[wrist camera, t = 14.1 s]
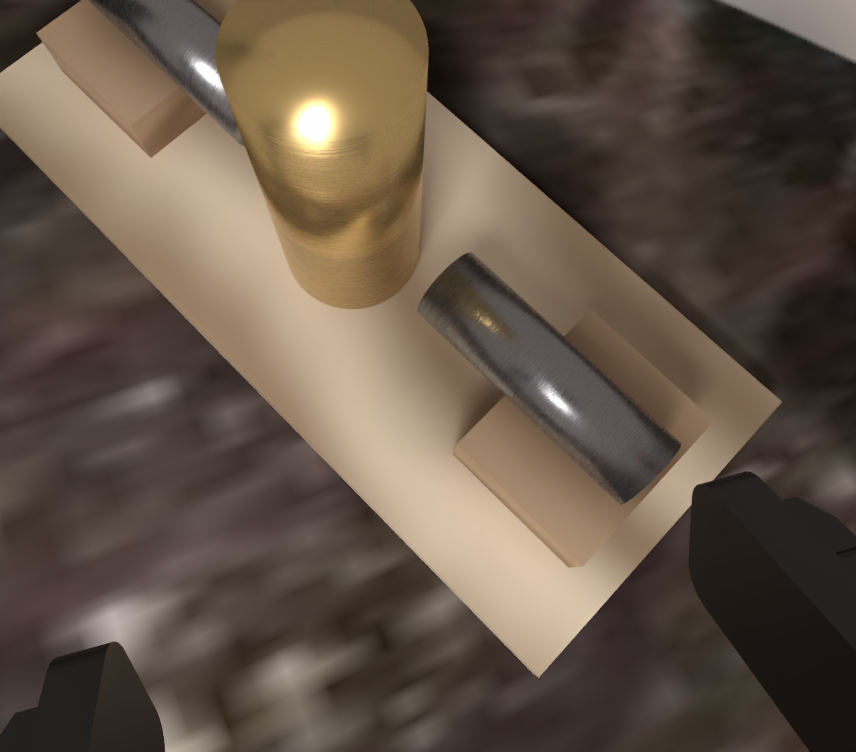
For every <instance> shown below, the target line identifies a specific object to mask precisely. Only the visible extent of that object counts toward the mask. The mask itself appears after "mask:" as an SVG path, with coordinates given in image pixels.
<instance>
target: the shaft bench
mask: <svg viewBox="0 0 856 752" xmlns="http://www.w3.org/2000/svg"><path fill="white" fill-rule="evenodd" d="M196 1H197V2H198V3H200V4H201V5H202V6H203V7H204V8H205V9H206V10H207V11H208V12H209V13H210V14H212V15H213V16H214V17H215V18H216V19H217V20H218V21H219V22H220V23H221V24H222V22H223V20H224V18H225V16H226V14H227V12H228V10H229V9H230V7H231V6H232V5H233V3H234V2H235V1H236V0H196ZM37 35H38V36H39V38H40V39H41V41H42V43H41V44H39V45H38V46H37V47H35V48H34V49H33V50H31V51H30V52H28V53H27V54H26V55H24V56H23V57H22V58H20V59H19V60H17V61H16V62H15V63H13V64H12V65H11V66H9V67H8V68H6V69H5V70H4V71H2V72H1V73H0V128H1V129H2V130H3V131H4V132H5V134H6V135H7V136H8V137H9V138H10V139H11V140H12V141H13V142H14V143H15V144H16V145H17V146H18V147H19V148H20V149H21V150H22V151H23V152H24V153H25V154H26V155H27V156H28V157H29V158H30V159H31V160H32V161H33V162H34V163H35V164H36V165H37V166H38V167H39V168H40V169H41V170H42V171H43V172H44V173H45V174H46V175H47V176H48V178H49V179H50V180H51V181H52V182H53V183H54V184H55V185H56V186H57V187H58V188H59V189H60V190H61V191H62V192H63V193H64V194H65V195H66V196H67V197H68V198H69V199H70V200H71V201H72V202H73V203H74V204H75V205H76V206H77V207H78V208H79V209H80V210H81V211H82V212H83V213H84V214H85V215H86V216H87V217H88V218H89V219H90V220H91V222H92V223H93V224H94V225H95V226H96V227H97V228H98V229H99V230H100V231H101V232H102V233H103V234H104V235H105V236H106V237H107V238H108V239H109V240H110V241H111V242H112V243H113V244H114V245H115V246H116V247H117V248H118V249H119V250H120V251H121V252H122V253H123V254H124V255H125V256H126V257H127V258H128V259H129V260H130V261H131V262H132V263H133V265H134V266H135V267H136V268H137V269H138V270H139V271H140V272H141V273H142V274H143V275H144V276H145V277H146V278H147V279H148V280H149V281H150V282H151V283H152V284H153V285H154V286H155V287H156V288H157V289H158V290H159V291H160V292H161V293H162V294H163V295H164V296H165V297H166V298H167V299H168V300H169V301H170V302H171V303H172V304H173V305H174V306H175V307H176V309H177V310H178V311H179V312H180V313H181V314H182V315H183V316H184V317H185V318H186V319H187V320H188V321H189V322H190V323H191V324H192V325H193V326H194V327H195V328H196V329H197V330H198V331H199V332H200V333H201V334H202V335H203V336H204V337H205V338H206V339H207V340H208V341H209V342H210V343H211V344H212V345H213V346H214V347H215V348H216V349H217V350H218V351H219V353H220V354H221V355H222V356H223V357H224V358H225V359H226V360H227V361H228V362H229V363H230V364H231V365H232V366H233V367H234V368H235V369H236V370H237V371H238V372H239V373H240V374H241V375H242V376H243V377H244V378H245V379H246V380H247V381H248V382H249V383H250V384H251V385H252V386H253V387H254V388H255V389H256V390H257V391H258V392H259V393H260V394H261V396H262V397H263V398H264V399H265V400H266V401H267V402H268V403H269V404H270V405H271V406H272V407H273V408H274V409H275V410H276V411H277V412H278V413H279V414H280V415H281V416H282V417H283V418H284V419H285V420H286V421H287V422H288V423H289V424H290V425H291V426H292V427H293V428H294V429H295V430H296V431H297V432H298V433H299V434H300V435H301V436H302V437H303V438H304V440H305V441H306V442H307V443H308V444H309V445H310V446H311V447H312V448H313V449H314V450H315V451H316V452H317V453H318V454H319V455H320V456H321V457H322V458H323V459H324V460H325V461H326V462H327V463H328V464H329V465H330V466H331V467H332V468H333V469H334V470H335V471H336V472H337V473H338V474H339V475H340V476H341V477H342V478H343V479H344V480H345V481H346V483H347V484H348V485H349V486H350V487H351V488H352V489H353V490H354V491H355V492H356V493H357V494H358V495H359V496H360V497H361V498H362V499H363V500H364V501H365V502H366V503H367V504H368V505H369V506H370V507H371V508H372V509H373V510H374V511H375V512H376V513H377V514H378V515H379V516H380V517H381V518H382V519H383V520H384V521H385V522H386V523H387V524H388V525H389V527H390V528H391V529H392V530H393V531H394V532H395V533H396V534H397V535H398V536H399V537H400V538H401V539H402V540H403V541H404V542H405V543H406V544H407V545H408V546H409V547H410V548H411V549H412V550H413V551H414V552H415V553H416V554H417V555H418V556H419V557H420V558H421V559H422V560H423V561H424V562H425V563H426V564H427V565H428V566H429V567H430V568H431V569H432V571H433V572H434V573H435V574H436V575H437V576H438V577H439V578H440V579H441V580H442V581H443V582H444V583H445V584H446V585H447V586H448V587H449V588H450V589H451V590H452V591H453V592H454V593H455V594H456V595H457V596H458V597H459V598H460V599H461V600H462V601H463V602H464V603H465V604H466V605H467V606H468V607H469V608H470V609H471V610H472V611H473V612H474V614H475V615H476V616H477V617H478V618H479V619H480V620H481V621H482V622H483V623H484V624H485V625H486V626H487V627H488V628H489V629H490V630H491V631H492V632H493V633H494V634H495V635H496V636H497V637H498V638H499V639H500V640H501V641H502V642H503V643H504V644H505V645H506V646H507V647H508V648H509V649H510V650H511V651H512V652H513V653H514V654H515V655H516V656H517V658H518V659H519V660H520V661H521V662H522V663H523V664H524V665H525V666H526V667H527V668H528V669H529V670H530V671H531V672H532V673H533V674H534V675H536V676H537V677H538V678H539V677H540V675H541V674H542V673H543V672H544V671H545V670H546V669H547V668H548V666H549V665H550V664H551V663H552V662H553V661H554V660H555V658H556V657H557V656H558V655H559V654H560V653H561V652H562V651H563V649H564V648H565V647H566V646H567V645H568V644H569V643H570V641H571V640H572V639H573V638H574V637H575V636H576V635H577V634H578V632H579V631H580V630H581V629H582V628H583V627H584V626H585V624H586V623H587V622H588V621H589V620H590V619H591V618H592V617H593V615H594V614H595V613H596V612H597V611H598V610H599V609H600V607H601V606H602V605H603V604H604V603H605V602H606V601H607V600H608V598H609V597H610V596H611V595H612V594H613V593H614V592H615V591H616V589H617V588H618V587H619V586H620V585H621V584H622V583H623V581H624V580H625V579H626V578H627V577H628V576H629V575H630V574H631V572H632V571H633V570H634V569H635V568H636V567H637V566H638V564H639V563H640V562H641V561H642V560H643V559H644V558H645V557H646V555H647V554H648V553H649V552H650V551H651V550H652V549H653V547H654V546H655V545H656V544H657V543H658V542H659V541H660V540H661V538H662V537H663V536H664V535H665V534H666V533H667V532H668V530H669V529H670V528H671V527H672V526H673V525H674V524H675V523H676V521H677V520H678V519H679V518H680V517H681V516H682V515H683V513H684V512H685V511H686V510H687V509H688V508H689V507H690V506H691V504H692V493H693V489H694V488H695V486H696V485H698V484H702V483H705V482H709V481H713V480H714V478H715V477H716V476H717V475H718V474H719V473H720V472H721V470H722V469H723V468H724V467H725V466H726V465H727V464H728V463H729V461H730V460H731V459H732V458H733V457H734V456H735V455H736V453H737V452H738V451H739V450H740V449H741V448H742V447H743V446H744V444H745V443H746V442H747V441H748V440H749V439H750V438H751V436H752V435H753V434H754V433H755V432H756V431H757V430H758V429H759V427H760V426H761V425H762V424H763V423H764V422H765V421H766V419H767V418H768V417H769V416H770V415H771V414H772V413H773V412H774V410H775V409H776V408H777V407H778V406H779V405H780V404H781V402H782V401H781V400H779V399H778V398H777V397H776V396H775V395H774V394H773V393H771V392H770V391H769V390H768V389H767V388H766V387H765V386H763V385H762V384H761V383H760V382H759V381H758V380H757V379H755V378H754V377H753V376H752V375H751V374H750V373H749V372H747V371H746V370H745V369H744V368H743V367H742V366H741V365H739V364H738V363H737V362H736V361H735V360H734V359H733V358H731V357H730V356H729V355H728V354H727V353H726V352H725V351H723V350H722V349H721V348H720V347H719V346H718V345H717V344H715V343H714V342H713V341H712V340H711V339H710V338H709V337H707V336H706V335H705V334H704V333H703V332H702V331H701V330H699V329H698V328H697V327H696V326H695V325H694V324H693V323H691V322H690V321H689V320H688V319H687V318H686V317H685V316H683V315H682V314H681V313H680V312H679V311H678V310H677V309H675V308H674V307H673V306H672V305H671V304H670V303H669V302H667V301H666V300H665V299H664V298H663V297H662V296H661V295H659V294H658V293H657V292H656V291H655V290H654V289H653V288H651V287H650V286H649V285H648V284H647V283H646V282H645V281H643V280H642V279H641V278H640V277H639V276H638V275H637V274H635V273H634V272H633V271H632V270H631V269H630V268H629V267H627V266H626V265H625V264H624V263H623V262H622V261H621V260H619V259H618V258H617V257H616V256H615V255H614V254H613V253H611V252H610V251H609V250H608V249H607V248H606V247H605V246H603V245H602V244H601V243H600V242H599V241H598V240H597V239H595V238H594V237H593V236H592V235H591V234H590V233H589V232H587V231H586V230H585V229H584V228H583V227H582V226H581V225H579V224H578V223H577V222H576V221H575V220H574V219H573V218H571V217H570V216H569V215H568V214H567V213H566V212H565V211H563V210H562V209H561V208H560V207H559V206H558V205H557V204H555V203H554V202H553V201H552V200H551V199H550V198H549V197H547V196H546V195H545V194H544V193H543V192H542V191H541V190H539V189H538V188H537V187H536V186H535V185H534V184H533V183H531V182H530V181H529V180H528V179H527V178H526V177H525V176H523V175H522V174H521V173H520V172H519V171H518V170H517V169H515V168H514V167H513V166H512V165H511V164H510V163H509V162H507V161H506V160H505V159H504V158H503V157H502V156H501V155H499V154H498V153H497V152H496V151H495V150H494V149H493V148H491V147H490V146H489V145H488V144H487V143H486V142H485V141H483V140H482V139H481V138H480V137H479V136H478V135H477V134H475V133H474V132H473V131H472V130H471V129H470V128H469V127H467V126H466V125H465V124H464V123H463V122H462V121H461V120H459V119H458V118H457V117H456V116H455V115H454V114H453V113H451V112H450V111H449V110H448V109H447V108H446V107H445V106H443V105H442V104H441V103H440V102H439V101H438V100H437V99H435V98H434V97H433V96H432V95H431V94H430V93H429V92H427V97H426V119H425V140H424V161H423V182H422V204H421V225H420V246H419V257H418V262H417V265H416V268H415V270H414V272H413V274H412V276H411V278H410V279H409V281H408V282H407V284H406V285H405V286H404V287H403V288H402V289H401V290H400V291H399V292H398V293H397V294H395V295H394V296H393V297H391V298H390V299H388V300H386V301H384V302H382V303H380V304H378V305H375V306H371V307H367V308H362V309H342V308H337V307H332V306H329V305H327V304H324V303H322V302H320V301H318V300H316V299H315V298H313V297H312V296H310V295H309V294H308V293H307V292H305V291H304V290H303V289H302V288H301V286H300V285H299V284H298V283H297V281H296V280H295V278H294V277H293V275H292V273H291V271H290V268H289V265H288V263H287V260H286V257H285V255H284V252H283V249H282V246H281V244H280V241H279V238H278V235H277V233H276V230H275V227H274V225H273V222H272V219H271V216H270V214H269V211H268V208H267V205H266V203H265V200H264V197H263V194H262V192H261V189H260V186H259V184H258V181H257V178H256V175H255V173H254V170H253V167H252V164H251V162H250V159H249V156H248V154H247V151H246V148H245V146H243V145H240V144H239V143H238V142H237V141H236V140H235V139H234V138H233V137H231V136H230V135H229V134H228V133H227V132H226V131H225V130H224V129H223V128H222V127H221V126H220V125H219V124H218V123H217V122H216V121H215V120H213V119H212V118H211V117H210V116H209V115H208V114H207V113H206V112H205V111H204V110H203V109H202V108H201V107H200V106H199V105H198V104H197V103H196V102H194V101H193V100H192V99H191V98H190V97H189V96H188V95H187V94H186V93H185V92H184V91H183V90H182V89H181V88H180V87H179V86H178V85H177V84H175V83H174V82H173V81H172V80H171V79H170V78H169V77H168V76H167V75H166V74H165V73H164V72H163V71H162V70H161V69H160V68H159V67H158V66H156V65H155V64H154V63H153V62H152V61H151V60H150V59H149V58H148V57H147V56H146V55H145V54H144V53H143V52H142V51H141V50H140V49H139V48H137V47H136V46H135V45H134V44H133V43H132V42H131V41H130V40H129V39H128V38H127V37H126V36H125V35H124V34H123V33H122V32H121V31H120V30H118V29H117V28H116V27H115V26H114V25H113V24H112V23H111V22H110V21H109V20H108V19H107V18H106V17H105V16H104V15H103V14H102V13H101V12H99V11H98V10H97V9H96V8H95V7H94V6H93V5H92V4H91V3H90V2H89V1H88V0H81V1H80V2H78V3H77V4H76V5H74V6H73V7H72V8H70V9H69V10H67V11H66V12H65V13H63V14H62V15H60V16H59V17H58V18H56V19H55V20H54V21H52V22H51V23H49V24H48V25H47V26H45V27H44V28H42V29H41V30H40V31H38V32H37ZM469 252H472V253H473V254H475V255H476V256H477V257H478V258H479V259H480V260H481V261H482V262H483V263H484V264H486V265H487V266H488V267H489V268H490V269H491V270H492V271H493V272H494V273H495V274H497V275H498V276H499V277H500V278H501V279H502V280H503V281H504V282H505V283H506V284H507V285H509V286H510V287H511V288H512V289H513V290H514V291H515V292H516V293H517V294H518V295H520V296H521V297H522V298H523V299H524V300H525V301H526V302H527V303H528V304H529V305H530V306H532V307H533V308H534V309H535V310H536V311H537V312H538V313H539V314H540V315H541V316H543V317H544V318H545V319H546V320H547V321H548V322H549V323H550V324H551V325H552V326H553V327H555V328H556V329H557V330H558V331H559V332H560V333H561V334H562V335H563V336H564V337H566V338H567V339H568V340H569V341H570V342H571V343H572V344H573V345H574V346H575V347H577V348H578V349H579V350H580V351H581V352H582V353H583V354H584V355H585V356H586V357H587V358H589V359H590V360H591V361H592V362H593V363H594V364H595V365H596V366H597V367H598V368H600V369H601V370H602V371H603V372H604V373H605V374H606V375H607V376H608V377H609V378H610V379H612V380H613V381H614V382H615V383H616V384H617V385H618V386H619V387H620V388H621V389H623V390H624V391H625V392H626V393H627V394H628V395H629V396H630V397H631V398H632V399H633V400H635V401H636V402H637V403H638V404H639V405H640V406H641V407H642V408H643V409H644V410H646V411H647V412H648V413H649V414H650V415H651V416H652V417H653V418H654V419H655V420H657V421H658V422H659V423H660V424H661V425H662V426H663V427H664V428H665V429H666V430H667V431H669V432H670V433H671V434H672V435H673V436H674V437H675V438H676V439H677V440H678V441H680V442H681V447H680V449H679V450H678V452H677V453H676V455H675V456H674V457H673V459H672V460H671V461H670V462H669V463H668V464H667V466H666V467H665V468H664V469H663V470H662V471H661V472H660V473H659V474H658V475H657V476H656V477H655V478H654V479H653V480H652V481H651V482H650V483H649V484H648V485H647V486H646V487H645V488H644V489H643V490H642V491H641V492H639V493H638V494H637V495H636V496H635V497H633V498H632V499H631V500H629V501H628V502H627V503H625V504H623V505H620V504H619V503H618V502H617V501H616V500H615V499H614V498H613V497H612V496H610V495H609V494H608V493H607V492H606V491H605V490H604V489H603V488H602V487H601V486H600V485H599V484H598V483H597V482H596V481H595V480H594V479H593V478H591V477H590V476H589V475H588V474H587V473H586V472H585V471H584V470H583V469H582V468H581V467H580V466H579V465H578V464H577V463H576V462H575V461H574V460H572V459H571V458H570V457H569V456H568V455H567V454H566V453H565V452H564V451H563V450H562V449H561V448H560V447H559V446H558V445H557V444H556V443H554V442H553V441H552V440H551V439H550V438H549V437H548V436H547V435H546V434H545V433H544V432H543V431H542V430H541V429H540V428H539V427H538V426H537V425H535V424H534V423H533V422H532V421H531V420H530V419H529V418H528V417H527V416H526V415H525V414H524V413H523V412H522V411H521V410H520V409H519V408H518V407H516V406H515V405H514V404H513V403H512V402H511V401H510V400H509V399H508V398H507V397H506V396H505V395H504V394H503V393H502V392H501V391H500V390H499V389H497V388H496V387H495V386H494V385H493V384H492V383H491V382H490V381H489V380H488V379H487V378H486V377H485V376H484V375H483V374H482V373H481V372H480V371H478V370H477V369H476V368H475V367H474V366H473V365H472V364H471V363H470V362H469V361H468V360H467V359H466V358H465V357H464V356H463V355H462V354H461V353H459V352H458V351H457V350H456V349H455V348H454V347H453V346H452V345H451V344H450V343H449V342H448V341H447V340H446V339H445V338H444V337H443V336H442V335H440V334H439V333H438V332H437V331H436V330H435V329H434V328H433V327H432V326H431V325H430V324H429V323H428V322H427V321H426V320H425V319H424V318H423V317H421V316H420V315H419V314H418V313H417V307H418V304H419V302H420V300H421V299H422V297H423V295H424V294H425V292H426V291H427V290H428V288H429V287H430V286H431V284H432V283H433V282H434V281H435V280H436V279H437V277H438V276H439V275H440V274H441V273H442V272H443V271H444V270H445V269H446V268H447V267H448V266H449V265H450V264H452V263H453V262H454V261H455V260H457V259H458V258H459V257H461V256H462V255H464V254H466V253H469Z"/></svg>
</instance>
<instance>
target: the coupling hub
mask: <svg viewBox="0 0 856 752" xmlns="http://www.w3.org/2000/svg"><path fill="white" fill-rule="evenodd" d="M428 55H429V49H428V38H427V34H426V30H425V26H424V24H423V21H422V19H421V17H420V15H419V13H418V11H417V10H416V8H415V6H414V5H413V4H412V2H411V1H410V0H236V1H235V2H234V3H233V5H232V6H231V7H230V9H229V10H228V12H227V14H226V16H225V18H224V20H223V22H222V24H221V27H220V30H219V33H218V37H217V43H216V63H217V70H218V73H219V76H220V80H221V83H222V85H223V88H224V91H225V93H226V96H227V99H228V102H229V104H230V107H231V110H232V113H233V115H234V118H235V121H236V123H237V126H238V129H239V132H240V134H241V137H242V140H243V143H244V145H245V148H246V151H247V154H248V156H249V159H250V162H251V164H252V167H253V170H254V173H255V175H256V178H257V181H258V184H259V186H260V189H261V192H262V194H263V197H264V200H265V203H266V205H267V208H268V211H269V214H270V216H271V219H272V222H273V225H274V227H275V230H276V233H277V235H278V238H279V241H280V244H281V246H282V249H283V252H284V255H285V257H286V260H287V263H288V265H289V268H290V271H291V273H292V275H293V277H294V278H295V280H296V281H297V283H298V284H299V285H300V286H301V288H302V289H303V290H304V291H305V292H307V293H308V294H309V295H310V296H312V297H313V298H315V299H316V300H318V301H320V302H322V303H324V304H327V305H329V306H332V307H337V308H342V309H362V308H367V307H371V306H375V305H378V304H380V303H382V302H384V301H386V300H388V299H390V298H391V297H393V296H394V295H395V294H397V293H398V292H399V291H400V290H401V289H402V288H403V287H404V286H405V285H406V284H407V282H408V281H409V279H410V278H411V276H412V274H413V272H414V270H415V268H416V265H417V262H418V257H419V246H420V225H421V204H422V182H423V161H424V140H425V119H426V97H427V76H428Z"/></svg>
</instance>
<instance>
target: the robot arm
mask: <svg viewBox="0 0 856 752" xmlns="http://www.w3.org/2000/svg"><path fill="white" fill-rule="evenodd" d="M689 570H690V575H691V579H692V582H693V585H694V587H695V590H696V592H697V594H698V596H699V598H700V600H701V602H702V603H703V605H704V606H705V608H706V609H707V611H708V612H709V613H710V615H711V616H712V618H713V619H714V620H715V622H716V623H717V624H718V626H719V627H720V629H721V630H722V631H723V633H724V634H725V635H726V637H727V638H728V640H729V641H730V642H731V644H732V645H733V646H734V648H735V649H736V651H737V652H738V653H739V655H740V656H741V657H742V659H743V660H744V662H745V663H746V664H747V666H748V667H749V669H750V670H751V671H752V673H753V674H754V675H755V677H756V678H757V680H758V681H759V682H760V684H761V685H762V686H763V688H764V689H765V691H766V692H767V693H768V695H769V696H770V697H771V699H772V700H773V702H774V703H775V704H776V706H777V707H778V709H779V710H780V711H781V713H782V714H783V715H784V717H785V718H786V720H787V721H788V722H789V724H790V725H791V726H792V728H793V729H794V731H795V732H796V733H797V735H798V736H799V737H800V739H801V740H802V742H803V743H804V744H805V746H806V747H807V749H808V750H809V751H810V752H856V536H855V535H854V534H853V533H852V532H851V531H850V530H849V529H847V528H846V527H845V526H844V525H843V524H842V523H841V522H840V521H839V520H838V519H837V518H836V517H834V516H832V515H830V514H828V513H826V512H824V511H822V510H821V509H819V508H817V507H815V506H813V505H811V504H809V503H807V502H805V501H803V500H801V499H799V498H797V497H795V498H791V499H787V500H784V501H782V500H781V499H780V498H779V497H778V496H777V495H776V494H775V493H774V492H773V491H772V490H771V489H770V488H769V487H768V486H767V485H766V484H765V483H764V482H763V481H762V480H761V479H760V478H759V477H758V476H757V475H755V474H753V473H751V472H742V473H738V474H735V475H731V476H727V477H724V478H720V479H716V480H713V481H709V482H705V483H702V484H698V485H696V486H695V488H694V489H693V493H692V504H691V524H690V543H689ZM0 752H165V744H164V736H163V730H162V726H161V722H160V718H159V716H158V713H157V711H156V709H155V707H154V705H153V703H152V701H151V699H150V697H149V696H148V694H147V692H146V690H145V688H144V686H143V684H142V682H141V680H140V679H139V677H138V675H137V673H136V671H135V669H134V667H133V665H132V663H131V662H130V660H129V658H128V656H127V654H126V652H125V650H124V649H123V647H122V646H121V645H120V644H119V643H118V642H111V643H108V644H104V645H100V646H97V647H93V648H89V649H86V650H82V651H78V652H75V653H71V654H67V655H64V656H60V657H56V658H55V659H53V660H52V662H51V663H50V665H49V667H48V670H47V673H46V677H45V681H44V685H43V688H42V692H41V696H40V700H39V704H38V707H36V708H32V709H29V710H25V711H21V712H18V713H15V714H14V716H13V717H12V719H11V720H10V722H9V723H8V724H7V726H6V727H5V729H4V730H3V732H2V733H1V735H0Z"/></svg>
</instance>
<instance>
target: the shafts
mask: <svg viewBox="0 0 856 752" xmlns="http://www.w3.org/2000/svg"><path fill="white" fill-rule="evenodd" d="M88 1H89V2H90V3H91V4H92V5H93V6H94V7H95V8H96V9H97V10H98V11H99V12H101V13H102V14H103V15H104V16H105V17H106V18H107V19H108V20H109V21H110V22H111V23H112V24H113V25H114V26H115V27H116V28H117V29H118V30H120V31H121V32H122V33H123V34H124V35H125V36H126V37H127V38H128V39H129V40H130V41H131V42H132V43H133V44H134V45H135V46H136V47H137V48H139V49H140V50H141V51H142V52H143V53H144V54H145V55H146V56H147V57H148V58H149V59H150V60H151V61H152V62H153V63H154V64H155V65H156V66H158V67H159V68H160V69H161V70H162V71H163V72H164V73H165V74H166V75H167V76H168V77H169V78H170V79H171V80H172V81H173V82H174V83H175V84H177V85H178V86H179V87H180V88H181V89H182V90H183V91H184V92H185V93H186V94H187V95H188V96H189V97H190V98H191V99H192V100H193V101H194V102H196V103H197V104H198V105H199V106H200V107H201V108H202V109H203V110H204V111H205V112H206V113H207V114H208V115H209V116H210V117H211V118H212V119H213V120H215V121H216V122H217V123H218V124H219V125H220V126H221V127H222V128H223V129H224V130H225V131H226V132H227V133H228V134H229V135H230V136H231V137H233V138H234V139H235V140H236V141H237V142H238V143H239V144H240V145H243V146H245V145H244V143H243V140H242V137H241V134H240V132H239V129H238V126H237V123H236V121H235V118H234V115H233V113H232V110H231V107H230V104H229V102H228V99H227V96H226V93H225V91H224V88H223V85H222V83H221V80H220V76H219V73H218V70H217V63H216V43H217V37H218V33H219V30H220V27H221V23H220V22H219V21H218V20H217V19H216V18H215V17H214V16H213V15H212V14H210V13H209V12H208V11H207V10H206V9H205V8H204V7H203V6H202V5H201V4H200V3H198V2H197V1H196V0H88ZM417 313H418V314H419V315H420V316H421V317H423V318H424V319H425V320H426V321H427V322H428V323H429V324H430V325H431V326H432V327H433V328H434V329H435V330H436V331H437V332H438V333H439V334H440V335H442V336H443V337H444V338H445V339H446V340H447V341H448V342H449V343H450V344H451V345H452V346H453V347H454V348H455V349H456V350H457V351H458V352H459V353H461V354H462V355H463V356H464V357H465V358H466V359H467V360H468V361H469V362H470V363H471V364H472V365H473V366H474V367H475V368H476V369H477V370H478V371H480V372H481V373H482V374H483V375H484V376H485V377H486V378H487V379H488V380H489V381H490V382H491V383H492V384H493V385H494V386H495V387H496V388H497V389H499V390H500V391H501V392H502V393H503V394H504V395H505V396H506V397H507V398H508V399H509V400H510V401H511V402H512V403H513V404H514V405H515V406H516V407H518V408H519V409H520V410H521V411H522V412H523V413H524V414H525V415H526V416H527V417H528V418H529V419H530V420H531V421H532V422H533V423H534V424H535V425H537V426H538V427H539V428H540V429H541V430H542V431H543V432H544V433H545V434H546V435H547V436H548V437H549V438H550V439H551V440H552V441H553V442H554V443H556V444H557V445H558V446H559V447H560V448H561V449H562V450H563V451H564V452H565V453H566V454H567V455H568V456H569V457H570V458H571V459H572V460H574V461H575V462H576V463H577V464H578V465H579V466H580V467H581V468H582V469H583V470H584V471H585V472H586V473H587V474H588V475H589V476H590V477H591V478H593V479H594V480H595V481H596V482H597V483H598V484H599V485H600V486H601V487H602V488H603V489H604V490H605V491H606V492H607V493H608V494H609V495H610V496H612V497H613V498H614V499H615V500H616V501H617V502H618V503H619V504H620V505H623V504H625V503H627V502H628V501H629V500H631V499H632V498H633V497H635V496H636V495H637V494H638V493H639V492H641V491H642V490H643V489H644V488H645V487H646V486H647V485H648V484H649V483H650V482H651V481H652V480H653V479H654V478H655V477H656V476H657V475H658V474H659V473H660V472H661V471H662V470H663V469H664V468H665V467H666V466H667V464H668V463H669V462H670V461H671V460H672V459H673V457H674V456H675V455H676V453H677V452H678V450H679V449H680V447H681V442H680V441H678V440H677V439H676V438H675V437H674V436H673V435H672V434H671V433H670V432H669V431H667V430H666V429H665V428H664V427H663V426H662V425H661V424H660V423H659V422H658V421H657V420H655V419H654V418H653V417H652V416H651V415H650V414H649V413H648V412H647V411H646V410H644V409H643V408H642V407H641V406H640V405H639V404H638V403H637V402H636V401H635V400H633V399H632V398H631V397H630V396H629V395H628V394H627V393H626V392H625V391H624V390H623V389H621V388H620V387H619V386H618V385H617V384H616V383H615V382H614V381H613V380H612V379H610V378H609V377H608V376H607V375H606V374H605V373H604V372H603V371H602V370H601V369H600V368H598V367H597V366H596V365H595V364H594V363H593V362H592V361H591V360H590V359H589V358H587V357H586V356H585V355H584V354H583V353H582V352H581V351H580V350H579V349H578V348H577V347H575V346H574V345H573V344H572V343H571V342H570V341H569V340H568V339H567V338H566V337H564V336H563V335H562V334H561V333H560V332H559V331H558V330H557V329H556V328H555V327H553V326H552V325H551V324H550V323H549V322H548V321H547V320H546V319H545V318H544V317H543V316H541V315H540V314H539V313H538V312H537V311H536V310H535V309H534V308H533V307H532V306H530V305H529V304H528V303H527V302H526V301H525V300H524V299H523V298H522V297H521V296H520V295H518V294H517V293H516V292H515V291H514V290H513V289H512V288H511V287H510V286H509V285H507V284H506V283H505V282H504V281H503V280H502V279H501V278H500V277H499V276H498V275H497V274H495V273H494V272H493V271H492V270H491V269H490V268H489V267H488V266H487V265H486V264H484V263H483V262H482V261H481V260H480V259H479V258H478V257H477V256H476V255H475V254H473V253H472V252H469V253H466V254H464V255H462V256H461V257H459V258H458V259H457V260H455V261H454V262H453V263H452V264H450V265H449V266H448V267H447V268H446V269H445V270H444V271H443V272H442V273H441V274H440V275H439V276H438V277H437V279H436V280H435V281H434V282H433V283H432V284H431V286H430V287H429V288H428V290H427V291H426V292H425V294H424V295H423V297H422V299H421V300H420V302H419V304H418V307H417Z"/></svg>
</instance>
